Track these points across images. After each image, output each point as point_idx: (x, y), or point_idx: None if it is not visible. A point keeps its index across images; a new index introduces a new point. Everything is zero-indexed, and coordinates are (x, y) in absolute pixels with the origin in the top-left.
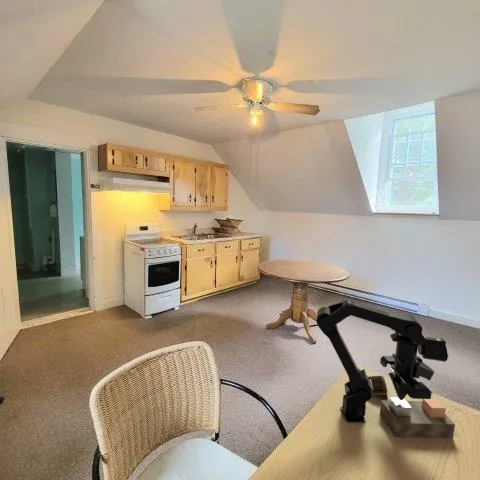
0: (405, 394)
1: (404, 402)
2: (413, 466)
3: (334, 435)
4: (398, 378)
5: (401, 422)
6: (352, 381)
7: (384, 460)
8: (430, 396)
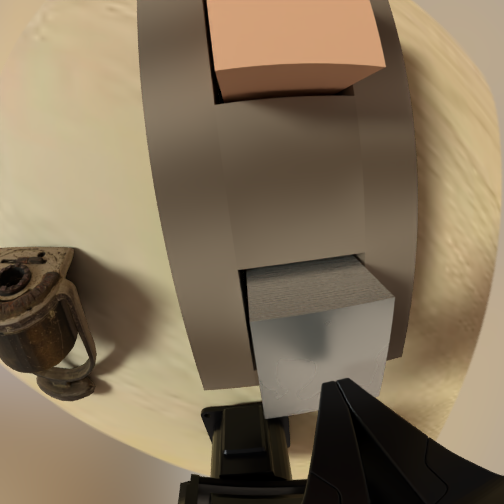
0: (407, 433)
1: (328, 336)
2: (472, 289)
3: None
4: None
5: (402, 336)
6: None
7: (440, 366)
8: None
